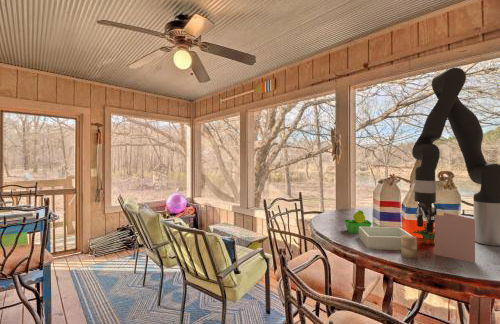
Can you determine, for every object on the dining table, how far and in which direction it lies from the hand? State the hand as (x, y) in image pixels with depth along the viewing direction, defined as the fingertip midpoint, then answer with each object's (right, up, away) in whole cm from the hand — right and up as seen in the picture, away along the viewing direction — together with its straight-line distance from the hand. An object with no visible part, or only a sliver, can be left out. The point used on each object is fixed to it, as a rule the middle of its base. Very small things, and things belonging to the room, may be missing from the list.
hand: (424, 229), depth 111 cm
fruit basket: (-20, -6, +19) cm, 28 cm away
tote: (-16, -6, +1) cm, 18 cm away
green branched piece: (+1, -6, 0) cm, 6 cm away
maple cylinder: (-15, -7, -14) cm, 21 cm away
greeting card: (-1, -6, -16) cm, 17 cm away
